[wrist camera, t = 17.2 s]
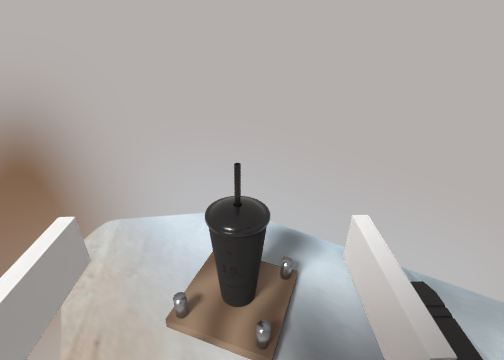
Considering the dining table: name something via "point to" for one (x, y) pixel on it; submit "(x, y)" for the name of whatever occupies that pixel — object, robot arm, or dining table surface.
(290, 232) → the dining table surface
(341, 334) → the dining table surface
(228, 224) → the drinking cup
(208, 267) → the peg board
